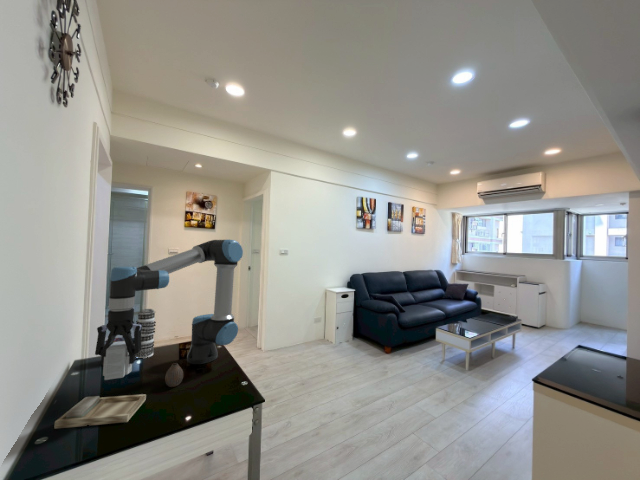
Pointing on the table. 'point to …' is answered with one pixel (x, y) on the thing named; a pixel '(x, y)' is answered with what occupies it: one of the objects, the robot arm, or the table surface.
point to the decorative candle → (146, 332)
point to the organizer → (101, 411)
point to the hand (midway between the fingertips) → (117, 373)
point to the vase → (174, 375)
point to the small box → (116, 360)
